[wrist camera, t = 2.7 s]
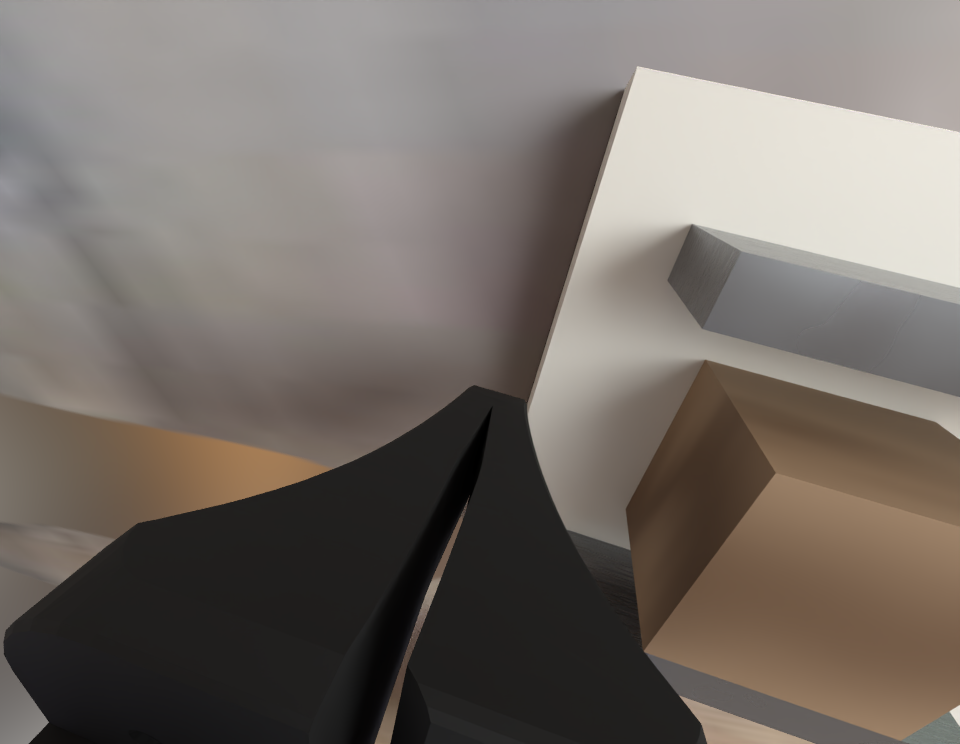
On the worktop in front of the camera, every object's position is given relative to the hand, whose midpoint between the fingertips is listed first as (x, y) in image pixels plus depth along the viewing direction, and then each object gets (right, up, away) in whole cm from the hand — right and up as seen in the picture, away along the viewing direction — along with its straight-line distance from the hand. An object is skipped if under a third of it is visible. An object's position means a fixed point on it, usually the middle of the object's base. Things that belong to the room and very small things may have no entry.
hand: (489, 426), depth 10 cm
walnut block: (+7, -1, +1) cm, 7 cm away
